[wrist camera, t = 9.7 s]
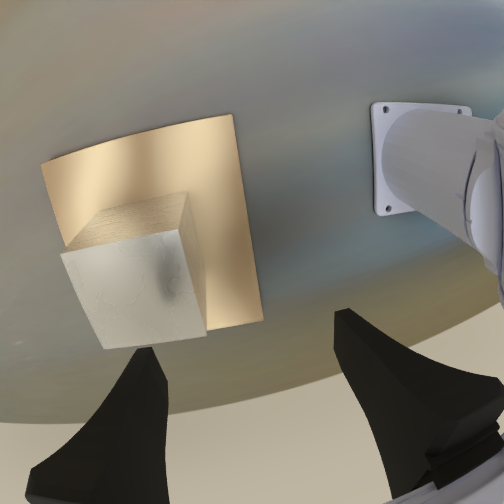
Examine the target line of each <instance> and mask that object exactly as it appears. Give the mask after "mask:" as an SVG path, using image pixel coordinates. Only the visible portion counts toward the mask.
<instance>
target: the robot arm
mask: <svg viewBox="0 0 504 504" xmlns="http://www.w3.org/2000/svg"><path fill="white" fill-rule="evenodd" d="M384 106H385V107H386V112H385V113H384V112H383V107H384ZM458 111H459V114H458ZM371 121H372V135H373V155H374V209H375V212H376V214H378V215H379V216H386V215H392V214H398V213H404V212H411V211H419V212H420V213H422V214H423V215H425V216H426V217H428V218H430V219H431V220H433V221H434V222H436V223H437V224H439V225H440V226H442V227H444V228H445V229H447V230H448V231H450V232H451V233H452V234H454V235H455V236H457V237H458V238H460V239H461V240H463V241H464V242H466V243H467V244H468V245H470V246H471V247H473V248H474V249H476V250H477V251H479V252H480V253H481V254H482V256H483V258H484V261H485V267H486V268H487V269H489V270H490V271H491V272H493V273H494V274H495V275H496V276H498V277H499V278H498V295H499V300H500V302H501V305H502V307H503V309H504V108H503V109H502V111H501V112H500V113H499V115H497V116H496V117H495V118H494V120H488V119H483V118H478V117H473V116H472V112H471V109H470V108H469V107H467V106H458V105H445V104H430V103H406V102H375V103H373V104H372V106H371ZM388 205H389V209H388V210H386V207H387V206H388ZM334 351H335V354H336V357H337V359H338V362H339V364H340V367H341V370H342V372H343V373H344V375H345V377H346V379H347V381H348V383H349V385H350V386H351V388H352V390H353V392H354V394H355V396H356V398H357V399H358V401H359V403H360V405H361V407H362V409H363V411H364V413H365V415H366V417H367V419H368V421H369V425H370V427H371V430H372V432H373V435H374V438H375V441H376V443H377V446H378V449H379V452H380V455H381V458H382V462H383V465H384V468H385V472H386V475H387V479H388V482H389V487H390V490H391V495H392V499H393V500H391V501H389V502H386V503H384V504H503V503H504V433H503V434H502V435H501V436H500V435H499V433H498V430H499V428H500V426H499V424H498V423H497V421H496V420H497V419H498V417H499V416H500V415H501V413H502V412H503V410H504V385H503V384H502V383H501V382H500V380H499V379H498V378H496V377H490V376H484V375H479V374H474V373H470V372H466V371H462V370H459V369H456V368H452V367H449V366H447V365H444V364H441V363H439V362H436V361H434V360H431V359H429V358H427V357H425V356H423V355H421V354H419V353H416V352H414V351H413V350H411V349H409V348H407V347H405V346H404V345H402V344H400V343H399V342H397V341H395V340H394V339H392V338H390V337H389V336H387V335H386V334H384V333H383V332H381V331H380V330H379V329H377V328H376V327H374V326H373V325H372V324H370V323H369V322H367V321H366V320H365V319H363V318H362V317H361V316H359V315H358V314H357V313H355V312H354V311H352V310H351V309H350V308H347V309H343V310H339V311H335V318H334ZM168 404H169V403H168V381H167V379H166V377H165V375H164V373H163V371H162V369H161V366H160V364H159V362H158V360H157V358H156V356H155V353H154V351H153V349H152V347H146V348H139V349H137V350H136V352H135V353H134V355H133V356H132V358H131V359H130V361H129V363H128V364H127V366H126V368H125V369H124V371H123V373H122V374H121V376H120V377H119V379H118V381H117V382H116V384H115V385H114V387H113V388H112V390H111V391H110V393H109V394H108V396H107V397H106V399H105V400H104V401H103V403H102V404H101V406H100V407H99V408H98V410H97V411H96V412H95V413H94V415H93V416H92V417H91V418H90V419H89V421H88V422H87V423H86V424H85V425H84V426H83V427H82V428H81V429H80V431H78V432H77V433H76V434H75V435H74V436H73V437H72V438H71V439H70V440H69V441H68V442H67V443H66V444H65V445H63V446H62V447H61V448H60V449H59V450H57V451H56V452H55V453H54V454H52V455H51V456H50V457H49V458H47V459H45V460H44V461H43V462H41V463H40V464H38V465H37V466H35V467H33V468H32V469H31V471H30V475H29V479H28V483H27V488H26V492H25V497H26V499H27V501H28V502H30V503H31V504H170V502H169V495H168V486H167V477H166V463H165V445H166V430H167V418H168Z"/></svg>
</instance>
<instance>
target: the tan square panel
mask: <svg viewBox="0 0 504 504" xmlns="http://www.w3.org/2000/svg"><path fill="white" fill-rule="evenodd" d="M41 168H42V172H43V176H44V179H45V183H46V187H47V190H48V194H49V197H50V200H51V204H52V207H53V210H54V213H55V216H56V220H57V223H58V226H59V228H60V231H61V234H62V237H63V240H64V243H65V245H66V247H67V246H68V244H69V243H70V242H71V241H72V240H73V239H74V237H75V236H76V235H77V234H78V233H79V232H80V231H81V230H82V228H83V227H84V226H85V225H86V224H87V223H88V222H89V221H90V220H91V219H92V218H93V216H94V215H95V214H96V213H97V212H98V211H99V210H102V209H107V208H111V207H115V206H119V205H123V204H127V203H132V202H136V201H140V200H145V199H149V198H154V197H159V196H163V195H168V194H173V193H178V192H183V191H188V196H189V200H190V205H191V210H192V214H193V219H194V224H195V228H196V233H197V237H198V241H199V246H200V250H201V254H202V259H203V263H204V267H205V271H206V303H207V330H212V329H218V328H224V327H230V326H235V325H241V324H246V323H252V322H257V321H262V320H264V319H263V313H262V306H261V300H260V293H259V287H258V280H257V274H256V267H255V261H254V254H253V248H252V241H251V235H250V228H249V221H248V215H247V208H246V202H245V195H244V189H243V182H242V176H241V169H240V163H239V156H238V150H237V144H236V137H235V131H234V124H233V118H232V114H228V115H222V116H216V117H210V118H205V119H199V120H194V121H189V122H184V123H179V124H174V125H170V126H165V127H161V128H157V129H152V130H148V131H144V132H140V133H136V134H132V135H129V136H125V137H121V138H118V139H114V140H111V141H107V142H104V143H100V144H97V145H94V146H91V147H87V148H84V149H81V150H78V151H75V152H72V153H69V154H66V155H63V156H60V157H58V158H55V159H52V160H49V161H47V162H45V163H43V164H41Z"/></svg>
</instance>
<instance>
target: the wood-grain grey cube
mask: <svg viewBox="0 0 504 504" xmlns="http://www.w3.org/2000/svg"><path fill="white" fill-rule="evenodd" d="M60 255H61V257H62V260H63V262H64V265H65V267H66V270H67V272H68V275H69V277H70V280H71V282H72V284H73V287H74V289H75V291H76V293H77V296H78V298H79V300H80V302H81V304H82V307H83V309H84V311H85V313H86V315H87V317H88V319H89V321H90V323H91V325H92V327H93V329H94V331H95V333H96V335H97V337H98V339H99V341H100V343H101V345H102V346H103V348H104V349H112V348H121V347H130V346H138V345H147V344H154V343H162V342H169V341H176V340H183V339H190V338H196V337H203V336H207V303H206V271H205V267H204V263H203V259H202V254H201V250H200V246H199V241H198V237H197V233H196V228H195V224H194V219H193V214H192V210H191V205H190V200H189V196H188V191H183V192H178V193H173V194H168V195H163V196H159V197H154V198H149V199H145V200H140V201H136V202H132V203H127V204H123V205H119V206H115V207H111V208H107V209H102V210H99V211H98V212H97V213H96V214H95V215H94V216H93V218H92V219H91V220H90V221H89V222H88V223H87V224H86V225H85V226H84V227H83V228H82V230H81V231H80V232H79V233H78V234H77V235H76V236H75V237H74V239H73V240H72V241H71V242H70V243H69V244H68V246H67V247H66V248H65V249H64V250H63V251H62V253H61V254H60Z"/></svg>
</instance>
